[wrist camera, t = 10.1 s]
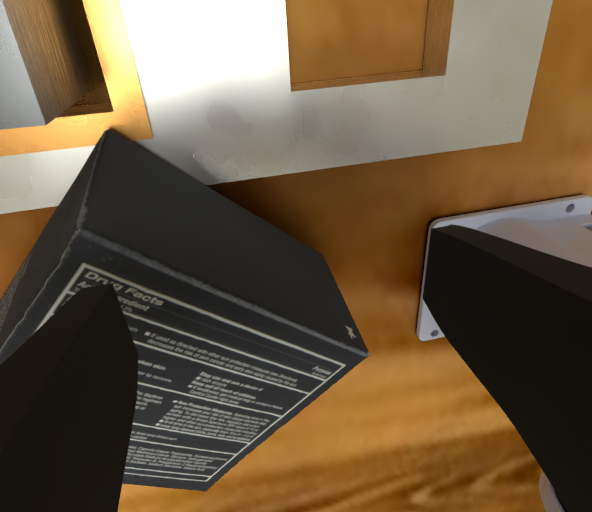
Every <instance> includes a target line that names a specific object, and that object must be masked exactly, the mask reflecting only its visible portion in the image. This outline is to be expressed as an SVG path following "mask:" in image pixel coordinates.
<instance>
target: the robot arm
mask: <svg viewBox="0 0 592 512" xmlns="http://www.w3.org/2000/svg"><path fill="white" fill-rule="evenodd" d="M567 206H568V207H567ZM591 210H592V197H591V196H589V195H585V194H583V195H577V196H571V197H565V198H559V199H553V200H547V201H542V202H536V203H530V204H524V205H518V206H512V207H506V208H500V209H494V210H488V211H482V212H476V213H470V214H464V215H458V216H452V217H446V218H440V219H436V220H435V221H433V222H432V223H431V225H430V227H429V231H428V239H427V248H426V256H425V265H424V273H423V281H422V290H421V298H420V307H419V315H418V324H417V332H416V333H417V336H418V338H419V339H420V340H422V341H427V340H431V339H436V338H441V337H446V338H447V340H448V341H449V342H450V343H451V345H452V346H453V347H454V349H455V350H456V351H457V352H458V354H459V355H460V356H461V358H462V359H463V360H464V361H465V363H466V364H467V365H468V367H469V368H470V369H471V370H472V372H473V373H474V374H475V375H476V377H477V378H478V379H479V380H480V382H481V383H482V384H483V385H484V387H485V388H486V389H487V391H488V392H489V393H490V394H491V396H492V397H493V398H494V399H495V401H496V402H497V403H498V404H499V406H500V407H501V408H502V410H503V411H504V412H505V414H506V415H507V417H508V418H509V419H510V421H511V422H512V423H513V425H514V426H515V428H516V429H517V431H518V432H519V434H520V435H521V437H522V439H523V440H524V442H525V443H526V445H527V446H528V448H529V450H530V451H531V453H532V454H533V456H534V457H535V459H536V460H537V462H538V464H539V465H540V467H541V468H542V470H543V473H542V474H541V477H540V480H539V488H540V494H541V498H542V501H543V504H544V507H545V511H546V512H592V215H591V214H590V213H591ZM450 224H451V225H450ZM448 225H449V226H448ZM432 331H433V332H432ZM137 387H138V352H137V349H136V347H135V344H134V341H133V338H132V336H131V333H130V330H129V327H128V325H127V322H126V319H125V316H124V313H123V311H122V308H121V305H120V302H119V300H118V297H117V294H116V291H115V289H114V286H113V283H110V284H104V285H98V286H92V287H86V288H82V289H80V290H79V291H78V292H77V293H75V294H74V295H73V296H72V297H71V298H70V299H69V300H68V301H67V302H66V303H65V304H64V305H63V306H62V307H60V308H59V309H58V310H57V311H56V312H55V313H54V314H53V315H52V316H51V317H50V318H49V319H48V320H47V321H46V322H45V323H44V324H43V325H42V326H41V327H40V328H39V329H38V330H37V331H36V332H35V333H34V334H33V335H32V336H31V337H30V338H29V339H28V340H26V341H25V342H24V343H23V344H22V345H21V346H20V347H19V348H18V349H17V350H16V351H15V352H14V353H13V354H12V355H11V356H10V357H9V358H8V359H6V360H5V361H4V362H3V363H2V364H1V365H0V512H117V511H118V504H119V498H120V493H121V487H122V482H123V476H124V470H125V465H126V459H127V453H128V448H129V442H130V436H131V431H132V425H133V419H134V413H135V407H136V401H137Z"/></svg>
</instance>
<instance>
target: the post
mask: <svg viewBox="0 0 592 512" xmlns="http://www.w3.org/2000/svg"><path fill="white" fill-rule="evenodd" d="M102 82H103V80H102V76H101V72H100V68H99V65H98V61H97V57H96V53H95V50H94V46H93V42H92V39H91V35H90V31H89V27H88V24H87V20H86V16H85V12H84V9H83V5H82V1H81V0H0V130H2V129H13V128H24V127H35V126H46V125H47V124H49V123H50V122H51V121H53V120H54V119H55V118H56V117H58V116H59V115H60V114H62V113H63V112H64V111H66V110H67V109H68V108H70V107H71V106H72V105H73V104H75V103H76V102H77V101H79V100H80V99H81V98H83V97H84V96H85V95H87V94H88V93H89V92H90V91H92V90H93V89H94V88H96V87H97V86H98V85H100V84H101V83H102Z"/></svg>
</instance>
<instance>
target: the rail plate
mask: <svg viewBox="0 0 592 512" xmlns="http://www.w3.org/2000/svg"><path fill="white" fill-rule="evenodd" d="M82 1H83V4H84V8H85V11H86V15H87V18H88V22H89V25H90V29H91V32H92V36H93V39H94V43H95V46H96V50H97V54H98V57H99V61H100V64H101V68H102V71H103V75H104V78H105V82H106V85H107V89H108V92H109V96H110V99H111V102H109V103H99V104H89V105H80V106H71V107H70V108H68V109H67V110H66V111H64V112H63V113H62V114H60V115H59V116H58V117H56V118H55V119H54V120H53V121H51V122H50V123H49V124H47V125H46V126H35V127H24V128H13V129H2V130H0V214H3V213H10V212H18V211H25V210H32V209H39V208H46V207H53V206H59V204H60V202H61V201H62V199H63V198H64V196H65V194H66V193H67V191H68V190H69V188H70V187H71V185H72V184H73V182H74V180H75V179H76V177H77V176H78V174H79V172H80V170H81V169H82V167H83V166H84V164H85V163H86V161H87V159H88V157H89V156H90V154H91V152H92V151H93V149H94V147H95V145H96V144H97V142H98V141H99V139H100V137H101V136H102V134H103V133H104V131H105V130H112V131H114V132H115V133H117V134H119V135H121V136H122V137H124V138H126V139H127V140H129V141H131V142H132V143H134V144H136V145H137V146H139V147H141V148H142V149H144V150H146V151H147V152H149V153H151V154H153V155H154V156H156V157H158V158H159V159H161V160H163V161H165V162H166V163H168V164H170V165H171V166H173V167H175V168H177V169H178V170H180V171H182V172H183V173H185V174H187V175H188V176H190V177H192V178H193V179H195V180H197V181H199V182H200V183H202V184H204V185H211V184H219V183H226V182H233V181H240V180H247V179H255V178H262V177H269V176H276V175H283V174H290V173H298V172H305V171H312V170H319V169H326V168H334V167H341V166H348V165H355V164H362V163H369V162H377V161H384V160H391V159H398V158H405V157H413V156H420V155H427V154H434V153H441V152H449V151H456V150H463V149H470V148H477V147H484V146H492V145H499V144H506V143H513V142H520V141H522V137H523V132H524V128H525V123H526V119H527V114H528V110H529V105H530V101H531V96H532V92H533V87H534V83H535V78H536V74H537V69H538V65H539V60H540V56H541V51H542V47H543V42H544V38H545V33H546V29H547V25H548V20H549V16H550V11H551V7H552V2H553V0H429V4H428V15H427V26H426V37H425V49H424V60H423V70H418V71H408V72H399V73H389V74H379V75H370V76H360V77H350V78H341V79H331V80H321V81H312V82H302V83H292V84H291V83H290V68H289V53H288V37H287V22H286V7H285V0H82Z"/></svg>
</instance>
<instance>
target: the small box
mask: <svg viewBox="0 0 592 512" xmlns="http://www.w3.org/2000/svg"><path fill="white" fill-rule="evenodd" d="M110 283H113V286H114V289H115V291H116V294H117V297H118V300H119V302H120V305H121V308H122V311H123V313H124V316H125V319H126V322H127V325H128V327H129V330H130V333H131V336H132V338H133V341H134V344H135V347H136V349H137V352H138V387H137V401H136V407H135V413H134V419H133V425H132V431H131V436H130V442H129V448H128V453H127V459H126V465H125V470H124V476H123V482H122V483H123V484H134V485H144V486H155V487H164V488H176V489H187V490H199V491H207V490H208V489H209V488H210V487H211V486H212V485H213V484H214V483H215V482H217V481H218V480H219V479H220V478H221V477H222V476H223V475H224V474H225V473H227V472H228V471H229V470H230V469H231V468H232V467H233V466H235V465H236V464H237V463H238V462H239V461H240V460H241V459H243V458H244V457H245V456H246V455H247V454H249V453H250V452H251V451H253V450H254V449H255V448H256V447H257V446H258V445H260V444H261V443H262V442H263V441H265V440H266V439H267V438H268V437H269V436H271V435H272V434H273V433H274V432H275V431H276V430H278V429H279V428H280V427H281V426H283V425H285V424H286V423H287V422H288V421H289V420H291V419H292V418H293V417H294V416H296V415H297V414H298V413H299V412H300V411H302V410H303V409H304V408H305V407H306V406H308V405H309V404H310V403H311V402H312V401H314V400H315V399H317V398H318V397H319V396H320V395H321V394H322V393H324V392H325V391H326V390H328V389H329V388H330V387H331V386H332V385H333V384H334V383H336V382H337V381H338V380H339V379H341V378H342V377H343V376H344V375H346V374H347V373H348V372H349V371H350V370H351V369H353V368H354V367H355V366H356V365H357V364H359V363H360V362H361V361H363V360H364V359H365V358H367V357H368V356H369V352H368V349H367V347H366V346H365V343H364V341H363V339H362V337H361V335H360V333H359V331H358V328H357V326H356V324H355V322H354V320H353V318H352V316H351V313H350V311H349V309H348V307H347V305H346V303H345V301H344V298H343V296H342V294H341V292H340V290H339V288H338V287H337V283H336V282H335V280H334V277H333V275H332V273H331V271H330V269H329V267H328V265H327V263H326V260H325V258H324V256H323V255H322V254H321V253H319V252H318V251H316V250H314V249H313V248H311V247H309V246H307V245H306V244H304V243H302V242H301V241H299V240H297V239H295V238H294V237H292V236H290V235H289V234H287V233H285V232H284V231H282V230H280V229H278V228H277V227H275V226H273V225H272V224H270V223H268V222H267V221H265V220H263V219H261V218H260V217H258V216H256V215H255V214H253V213H251V212H250V211H248V210H246V209H244V208H243V207H241V206H239V205H238V204H236V203H234V202H232V201H231V200H229V199H227V198H226V197H224V196H222V195H221V194H219V193H217V192H216V191H214V190H212V189H211V188H209V187H207V186H206V185H204V184H202V183H200V182H199V181H197V180H195V179H193V178H192V177H190V176H188V175H187V174H185V173H183V172H182V171H180V170H178V169H177V168H175V167H173V166H171V165H170V164H168V163H166V162H165V161H163V160H161V159H159V158H158V157H156V156H154V155H153V154H151V153H149V152H147V151H146V150H144V149H142V148H141V147H139V146H137V145H136V144H134V143H132V142H131V141H129V140H127V139H126V138H124V137H122V136H121V135H119V134H117V133H115V132H114V131H112V130H105V131H104V133H103V134H102V136H101V137H100V139H99V141H98V142H97V144H96V145H95V147H94V149H93V151H92V152H91V154H90V156H89V157H88V159H87V161H86V163H85V164H84V166H83V167H82V169H81V170H80V172H79V174H78V176H77V177H76V179H75V180H74V182H73V184H72V185H71V187H70V188H69V190H68V191H67V193H66V194H65V196H64V198H63V199H62V201H61V202H60V204H59V206H58V207H57V209H56V211H55V212H54V214H53V216H52V217H51V219H50V220H49V222H48V224H47V225H46V227H45V228H44V230H43V231H42V233H41V235H40V237H39V238H38V240H37V242H36V243H35V245H34V246H33V248H32V250H31V251H30V253H29V254H28V256H27V258H26V259H25V261H24V263H23V264H22V266H21V267H20V269H19V271H18V272H17V274H16V276H15V277H14V279H13V281H12V282H11V284H10V285H9V287H8V289H7V290H6V292H5V293H4V295H3V297H2V298H1V300H0V365H1V364H2V363H3V362H4V361H5V360H6V359H8V358H9V357H10V356H11V355H12V354H13V353H14V352H15V351H16V350H17V349H18V348H19V347H20V346H21V345H22V344H23V343H24V342H25V341H26V340H28V339H29V338H30V337H31V336H32V335H33V334H34V333H35V332H36V331H37V330H38V329H39V328H40V327H41V326H42V325H43V324H44V323H45V322H46V321H47V320H48V319H49V318H50V317H51V316H52V315H53V314H54V313H55V312H56V311H57V310H58V309H59V308H60V307H62V306H63V305H64V304H65V303H66V302H67V301H68V300H69V299H70V298H71V297H72V296H73V295H74V294H75V293H77V292H78V291H79V290H80V289H82V288H86V287H92V286H98V285H104V284H110Z"/></svg>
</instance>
